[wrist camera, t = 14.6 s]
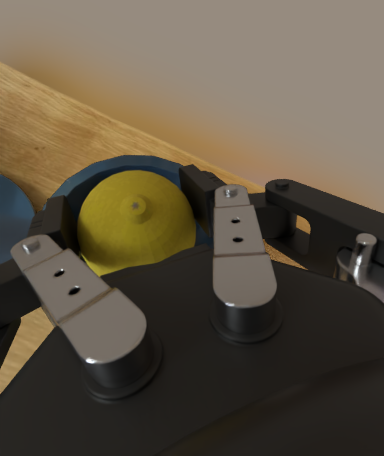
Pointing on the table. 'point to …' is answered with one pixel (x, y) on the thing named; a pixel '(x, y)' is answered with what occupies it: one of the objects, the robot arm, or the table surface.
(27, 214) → the lid
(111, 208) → the lemon
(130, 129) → the table surface
